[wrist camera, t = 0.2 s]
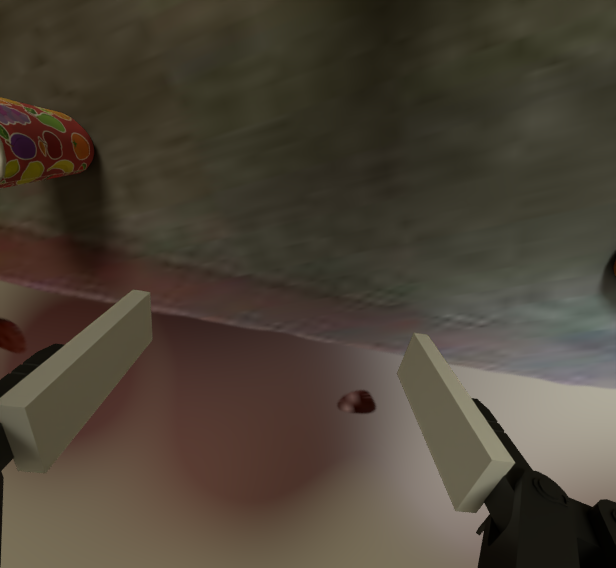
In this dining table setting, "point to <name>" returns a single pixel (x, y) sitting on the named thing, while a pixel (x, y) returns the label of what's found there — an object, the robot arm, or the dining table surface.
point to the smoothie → (40, 144)
